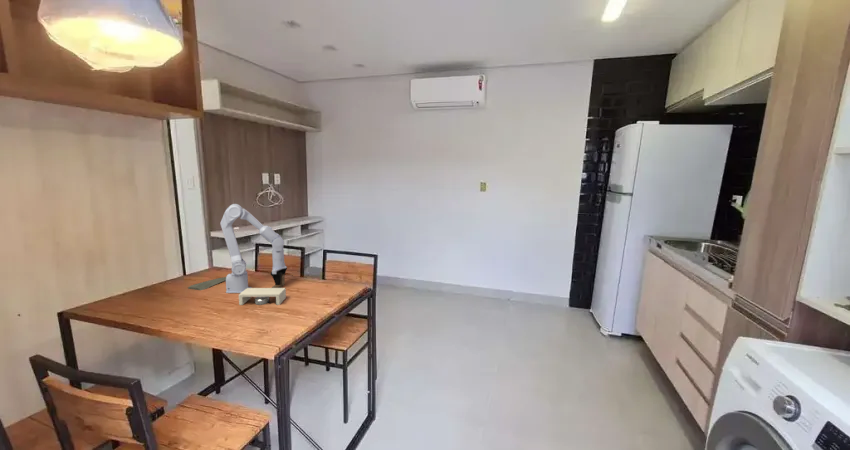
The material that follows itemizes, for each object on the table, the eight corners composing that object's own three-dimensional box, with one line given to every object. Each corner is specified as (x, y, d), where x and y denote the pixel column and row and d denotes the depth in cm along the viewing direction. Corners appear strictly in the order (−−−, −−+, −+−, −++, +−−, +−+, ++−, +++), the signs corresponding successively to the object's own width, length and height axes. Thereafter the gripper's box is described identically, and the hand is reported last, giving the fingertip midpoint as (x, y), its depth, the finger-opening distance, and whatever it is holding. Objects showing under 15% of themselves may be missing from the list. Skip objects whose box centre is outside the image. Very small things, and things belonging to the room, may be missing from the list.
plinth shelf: (239, 305, 158) (238, 294, 158) (247, 297, 167) (247, 288, 167) (279, 304, 160) (279, 294, 159) (285, 297, 169) (285, 287, 168)
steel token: (252, 305, 159) (252, 300, 159) (258, 300, 165) (257, 295, 164) (266, 305, 159) (265, 300, 159) (271, 300, 165) (270, 295, 165)
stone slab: (186, 291, 178) (201, 291, 176) (185, 286, 178) (200, 286, 175) (221, 279, 200) (235, 279, 197) (220, 274, 199) (235, 274, 197)
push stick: (265, 296, 171) (264, 284, 170) (278, 284, 188) (277, 274, 187) (272, 296, 171) (272, 284, 170) (284, 284, 188) (284, 274, 187)
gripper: (281, 262, 176) (282, 287, 178) (290, 255, 190) (291, 279, 192) (267, 262, 176) (268, 287, 178) (277, 255, 190) (278, 279, 192)
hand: (279, 283), depth 185 cm, fingers closed on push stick, 5 cm apart
